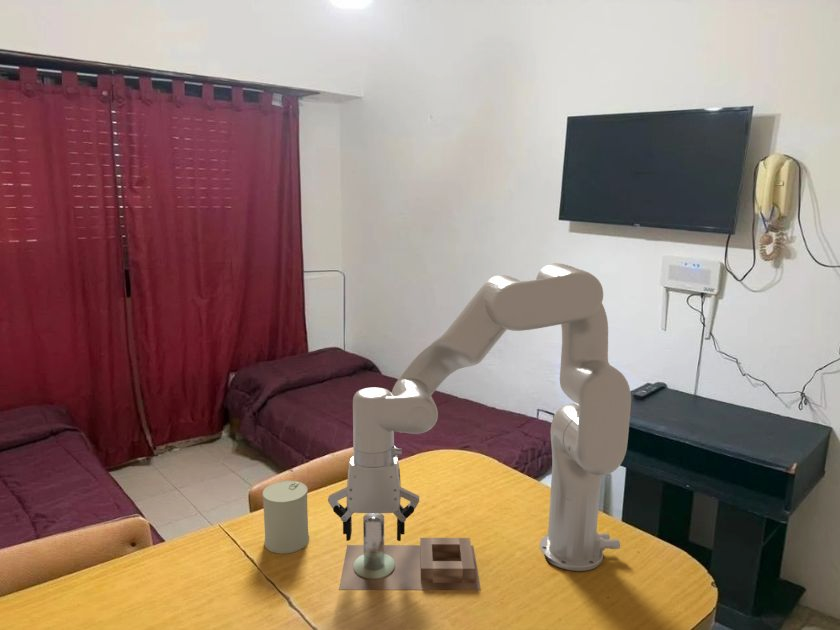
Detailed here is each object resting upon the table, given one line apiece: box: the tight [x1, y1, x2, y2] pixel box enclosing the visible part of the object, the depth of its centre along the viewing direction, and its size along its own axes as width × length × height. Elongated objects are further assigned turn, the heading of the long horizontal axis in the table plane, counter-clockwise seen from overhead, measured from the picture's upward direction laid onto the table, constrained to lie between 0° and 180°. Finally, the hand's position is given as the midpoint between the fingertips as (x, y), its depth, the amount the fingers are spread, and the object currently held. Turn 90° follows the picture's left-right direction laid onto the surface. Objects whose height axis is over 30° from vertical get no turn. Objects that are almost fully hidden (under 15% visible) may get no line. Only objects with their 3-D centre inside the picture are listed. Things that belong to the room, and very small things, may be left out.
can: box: [261, 480, 310, 555], centre depth 125 cm, size 9×9×12 cm
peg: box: [362, 513, 385, 571], centre depth 115 cm, size 4×4×10 cm
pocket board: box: [338, 537, 481, 591], centre depth 116 cm, size 26×14×4 cm, turn 91°
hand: (374, 536), depth 115 cm, fingers open, 9 cm apart
